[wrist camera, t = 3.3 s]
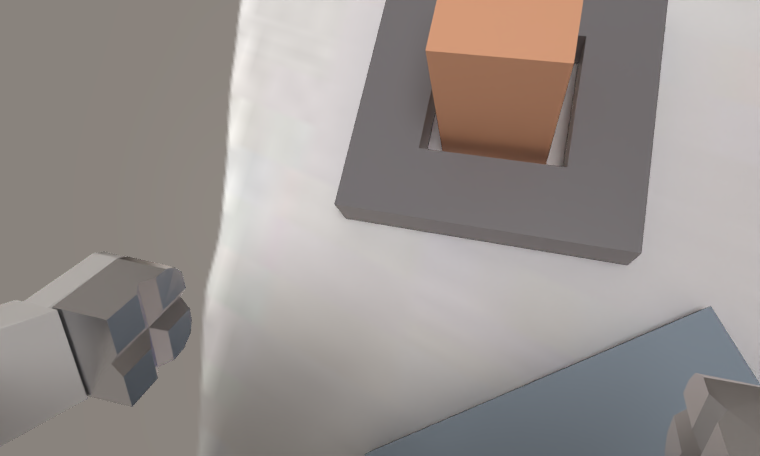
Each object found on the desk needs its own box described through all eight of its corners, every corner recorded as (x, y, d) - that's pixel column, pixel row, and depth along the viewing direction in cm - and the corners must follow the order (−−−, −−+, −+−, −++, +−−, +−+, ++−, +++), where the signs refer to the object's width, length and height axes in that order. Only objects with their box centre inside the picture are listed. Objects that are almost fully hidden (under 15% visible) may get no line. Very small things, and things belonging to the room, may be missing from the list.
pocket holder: (400, -5, 27) (394, -34, 25) (655, 11, 25) (669, -20, 23) (346, 218, 24) (334, 204, 23) (627, 265, 22) (641, 253, 20)
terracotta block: (460, 67, 26) (451, -66, 18) (558, 76, 25) (592, -61, 17) (443, 154, 25) (425, 50, 17) (544, 167, 24) (574, 63, 16)
